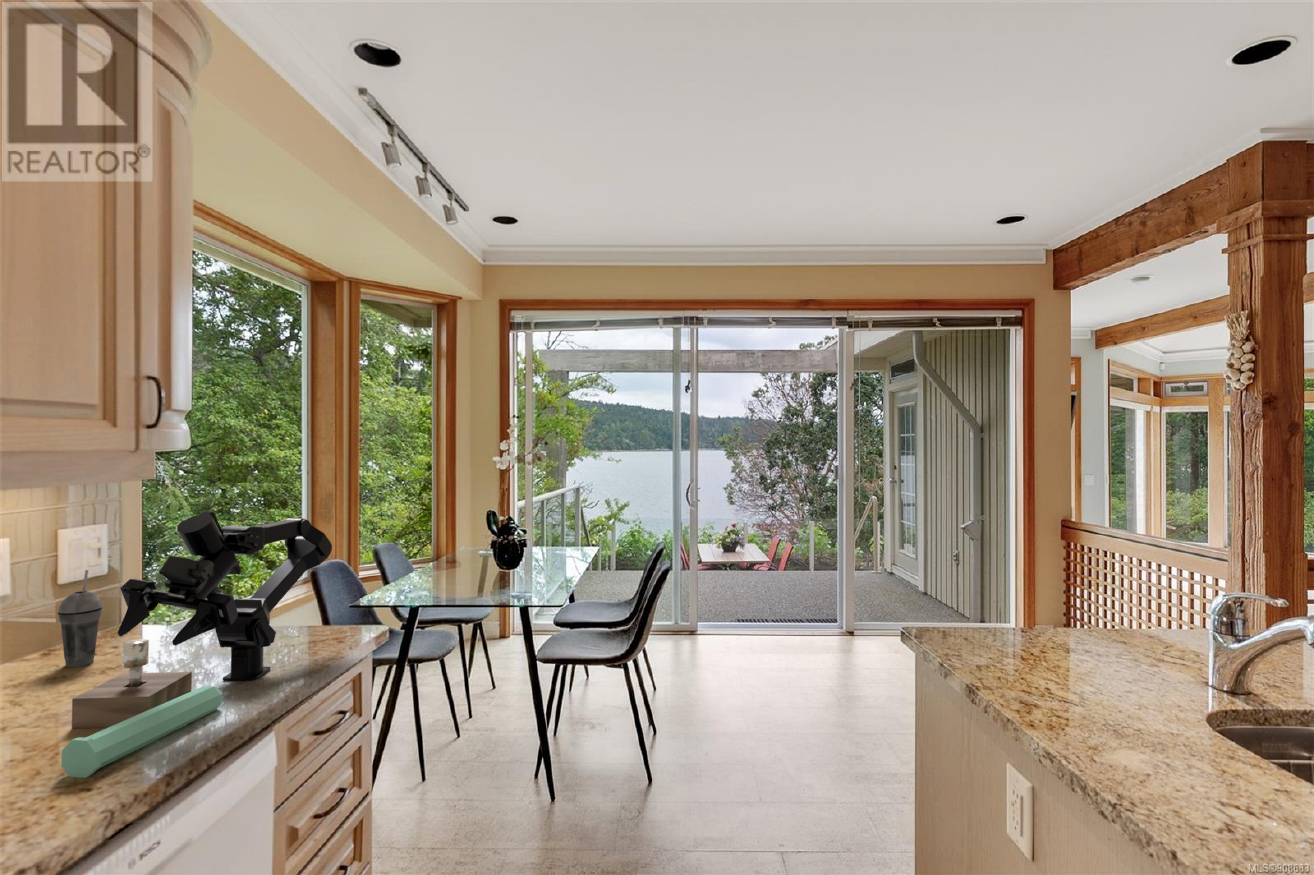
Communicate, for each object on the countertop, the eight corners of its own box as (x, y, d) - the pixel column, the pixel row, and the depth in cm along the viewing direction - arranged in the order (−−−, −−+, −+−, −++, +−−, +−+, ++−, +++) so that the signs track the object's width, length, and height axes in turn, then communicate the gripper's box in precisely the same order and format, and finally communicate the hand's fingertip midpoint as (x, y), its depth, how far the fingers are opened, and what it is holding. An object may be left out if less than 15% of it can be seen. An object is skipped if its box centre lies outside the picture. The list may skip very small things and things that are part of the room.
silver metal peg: (131, 686, 118) (132, 639, 118) (152, 686, 118) (153, 638, 118) (117, 694, 114) (117, 645, 114) (139, 693, 115) (139, 645, 115)
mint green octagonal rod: (207, 674, 119) (69, 731, 94) (234, 688, 119) (102, 750, 94) (195, 703, 119) (54, 769, 95) (222, 718, 119) (87, 787, 94)
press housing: (122, 700, 122) (122, 673, 122) (191, 698, 123) (191, 671, 123) (71, 728, 110) (72, 698, 110) (148, 726, 111) (149, 696, 111)
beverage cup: (47, 668, 138) (48, 573, 138) (83, 657, 145) (84, 567, 146) (75, 670, 137) (77, 575, 137) (110, 659, 144) (112, 568, 144)
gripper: (146, 533, 120) (76, 596, 106) (248, 551, 120) (191, 616, 107) (161, 577, 126) (96, 642, 112) (258, 594, 126) (205, 660, 113)
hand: (146, 639), depth 111 cm, fingers open, 9 cm apart
